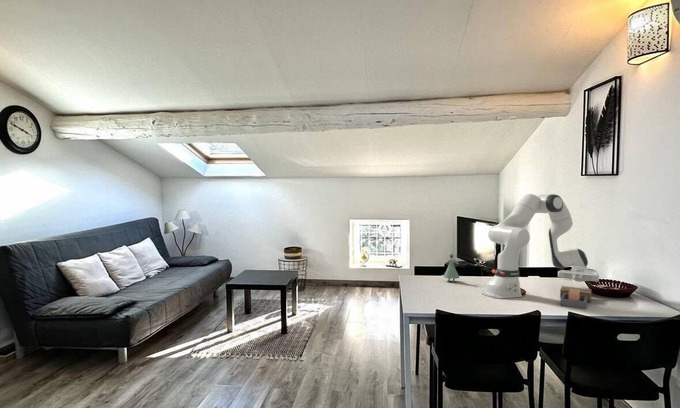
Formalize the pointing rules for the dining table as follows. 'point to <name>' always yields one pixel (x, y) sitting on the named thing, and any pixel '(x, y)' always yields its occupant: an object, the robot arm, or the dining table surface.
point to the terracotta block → (574, 294)
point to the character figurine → (451, 269)
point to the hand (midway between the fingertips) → (577, 278)
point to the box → (574, 301)
